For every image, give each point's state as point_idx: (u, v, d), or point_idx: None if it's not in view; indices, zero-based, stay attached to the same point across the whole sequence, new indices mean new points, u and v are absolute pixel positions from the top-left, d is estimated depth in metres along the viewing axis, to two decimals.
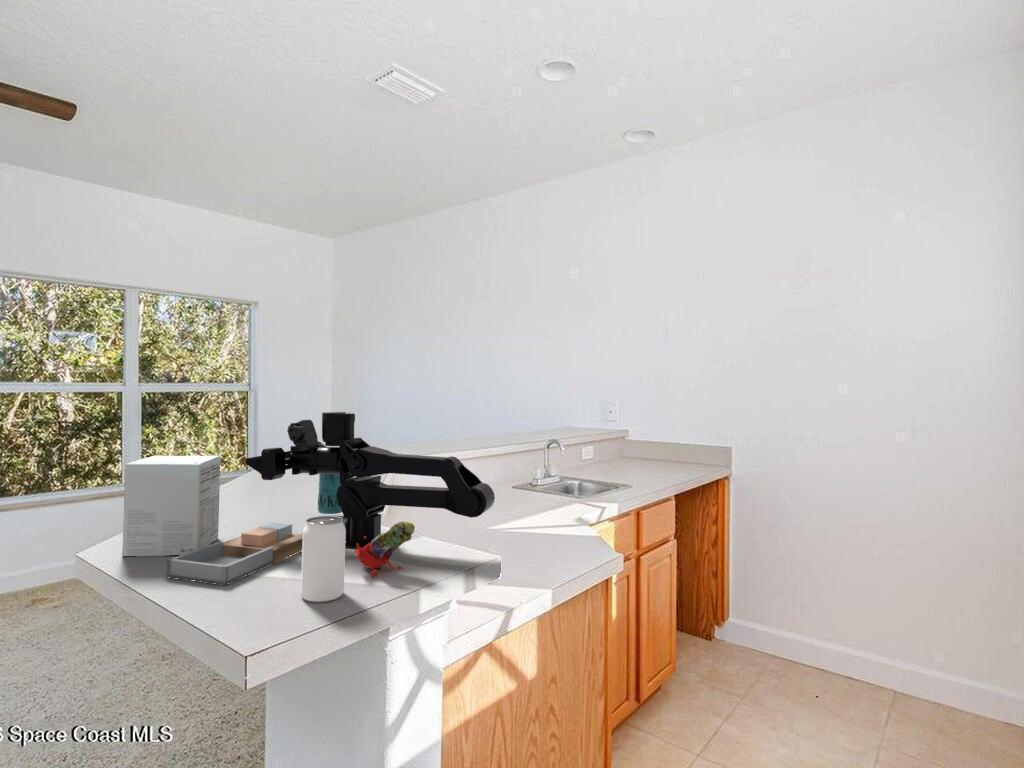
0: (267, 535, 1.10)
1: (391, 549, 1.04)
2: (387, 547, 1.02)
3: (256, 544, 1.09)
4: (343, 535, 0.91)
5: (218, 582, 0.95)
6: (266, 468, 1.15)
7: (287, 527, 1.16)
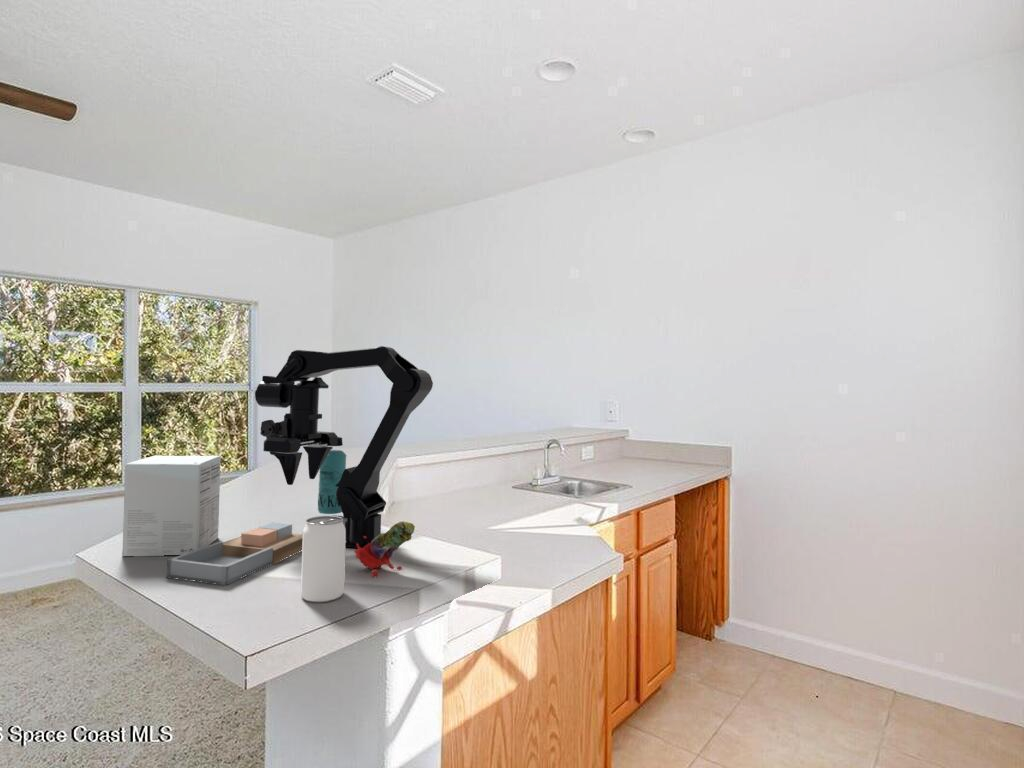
0: (267, 535, 1.10)
1: (391, 549, 1.04)
2: (387, 547, 1.02)
3: (256, 544, 1.09)
4: (343, 535, 0.91)
5: (218, 582, 0.95)
6: (278, 446, 1.15)
7: (287, 527, 1.16)
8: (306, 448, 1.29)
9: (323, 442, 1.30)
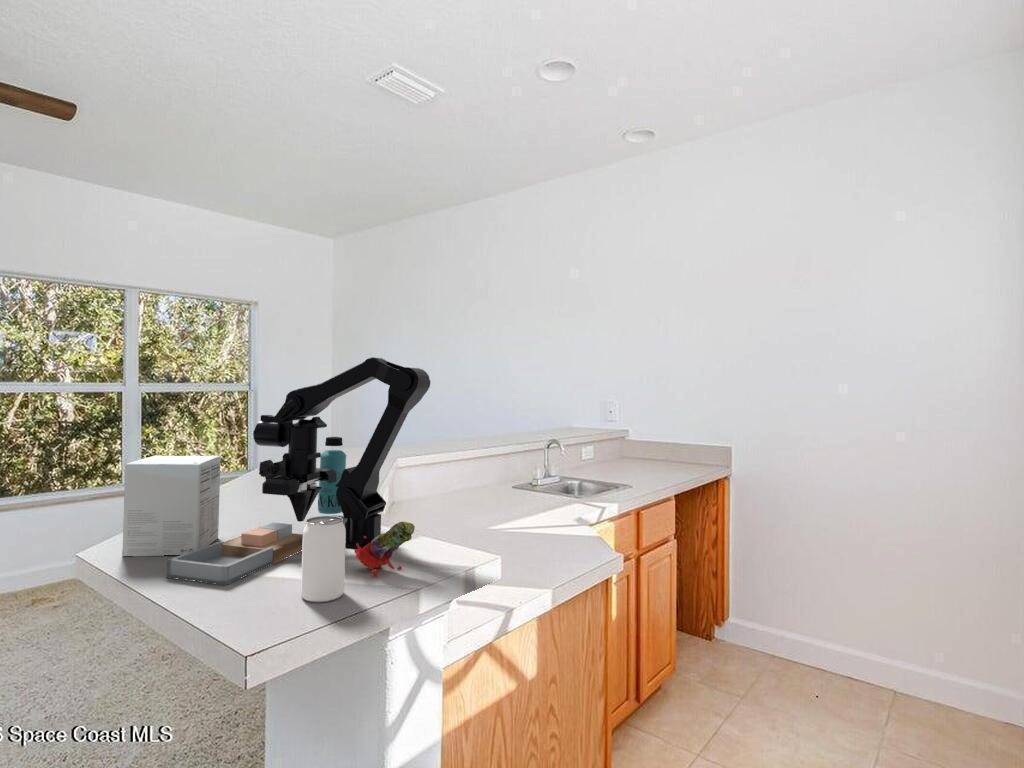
0: (267, 535, 1.10)
1: (391, 549, 1.04)
2: (387, 547, 1.02)
3: (256, 544, 1.09)
4: (343, 535, 0.91)
5: (218, 582, 0.95)
6: (276, 488, 1.15)
7: (287, 527, 1.16)
8: None
9: (322, 479, 1.30)
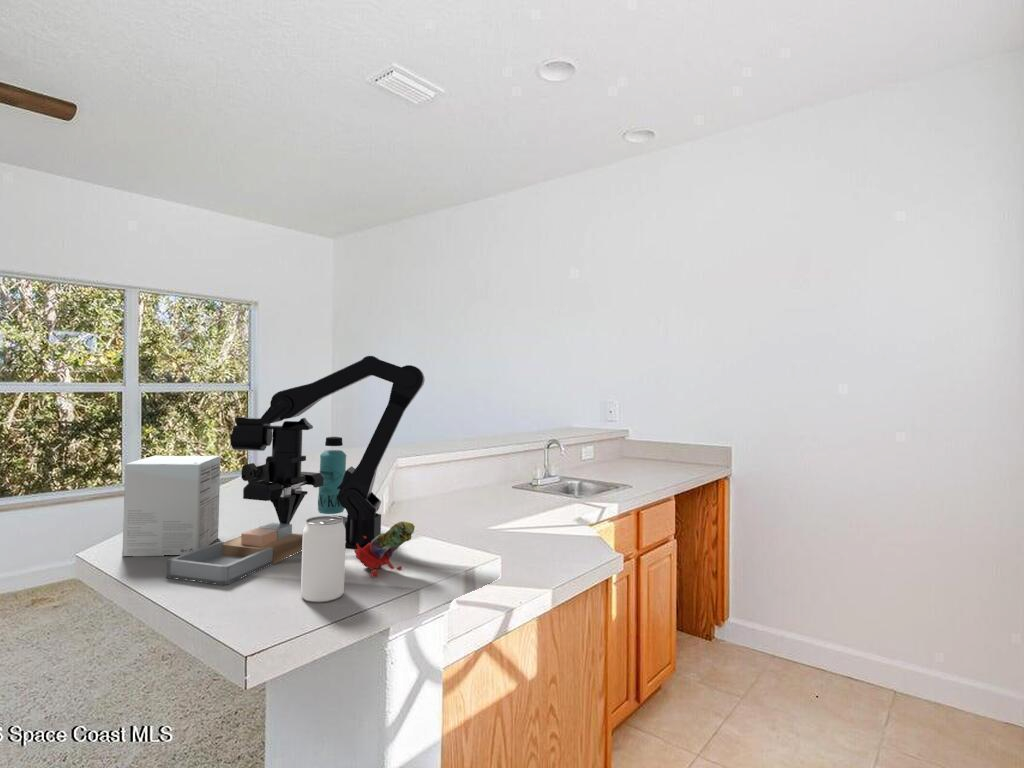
0: (267, 535, 1.10)
1: (391, 549, 1.04)
2: (387, 547, 1.02)
3: (256, 544, 1.09)
4: (343, 535, 0.91)
5: (218, 582, 0.95)
6: (258, 493, 1.10)
7: (287, 527, 1.16)
8: None
9: (308, 484, 1.25)
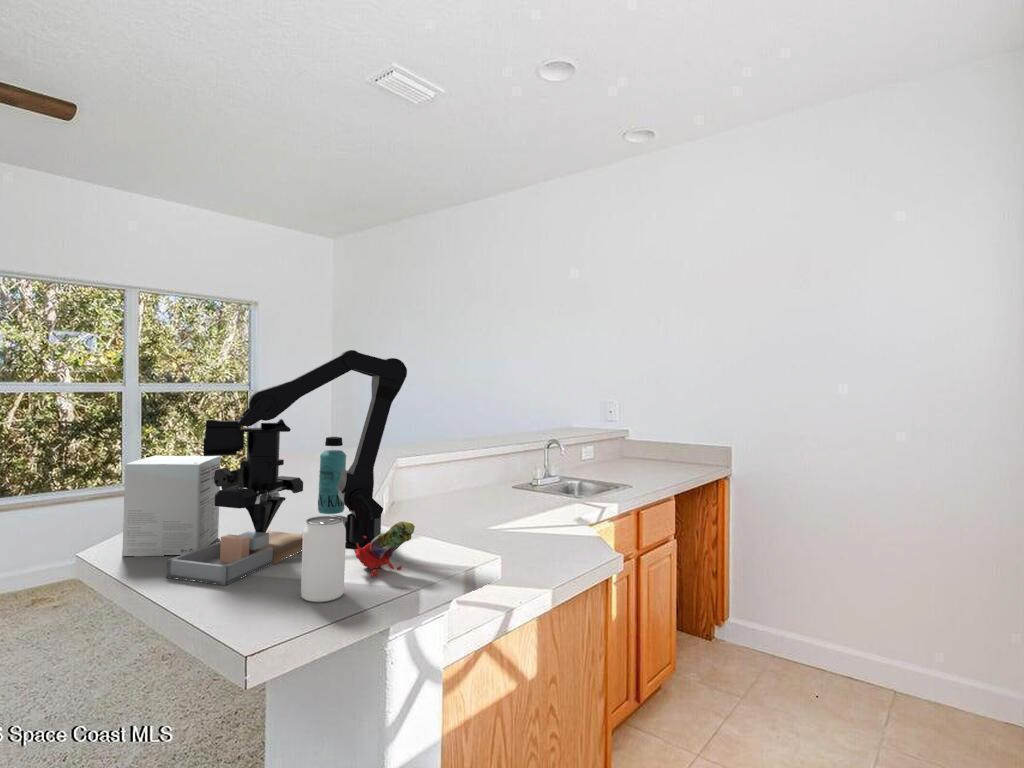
0: (242, 554, 1.04)
1: (391, 549, 1.04)
2: (387, 547, 1.02)
3: None
4: (343, 535, 0.91)
5: (218, 582, 0.95)
6: (230, 500, 1.02)
7: (264, 536, 1.09)
8: None
9: None
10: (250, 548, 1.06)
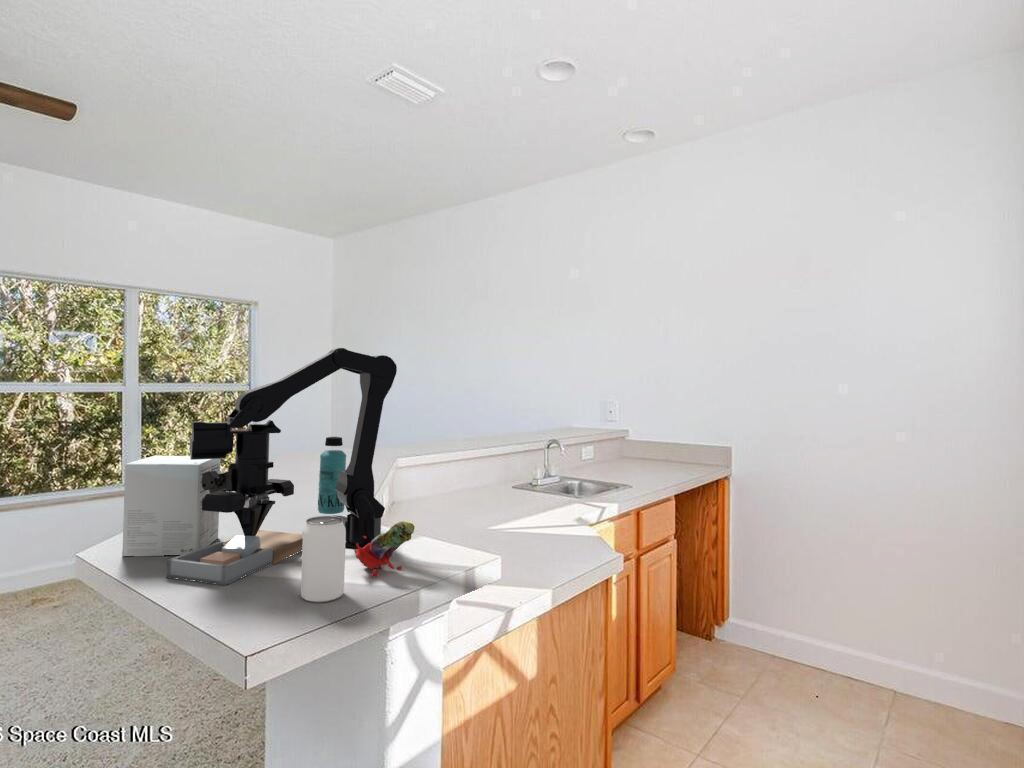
0: None
1: (391, 549, 1.04)
2: (387, 547, 1.02)
3: None
4: (343, 535, 0.91)
5: (218, 582, 0.95)
6: (217, 504, 0.99)
7: (254, 542, 1.06)
8: None
9: (277, 492, 1.14)
10: None
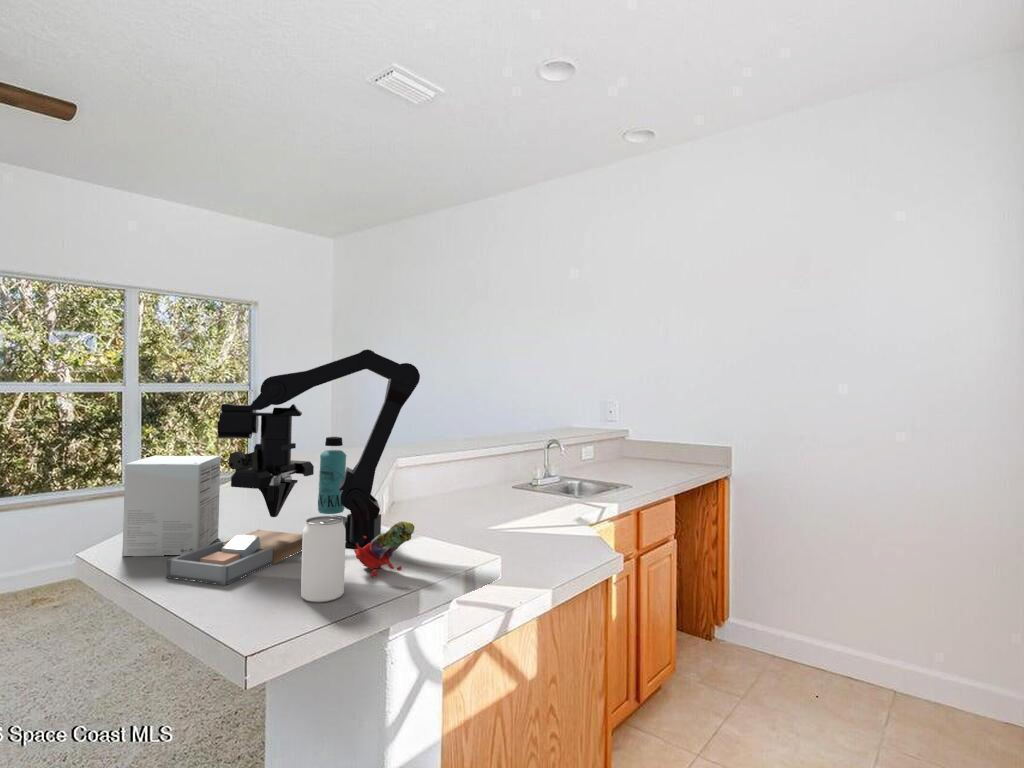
0: None
1: (391, 549, 1.04)
2: (387, 547, 1.02)
3: None
4: (343, 535, 0.91)
5: (218, 582, 0.95)
6: (246, 481, 1.06)
7: (254, 542, 1.06)
8: None
9: (298, 472, 1.21)
10: None
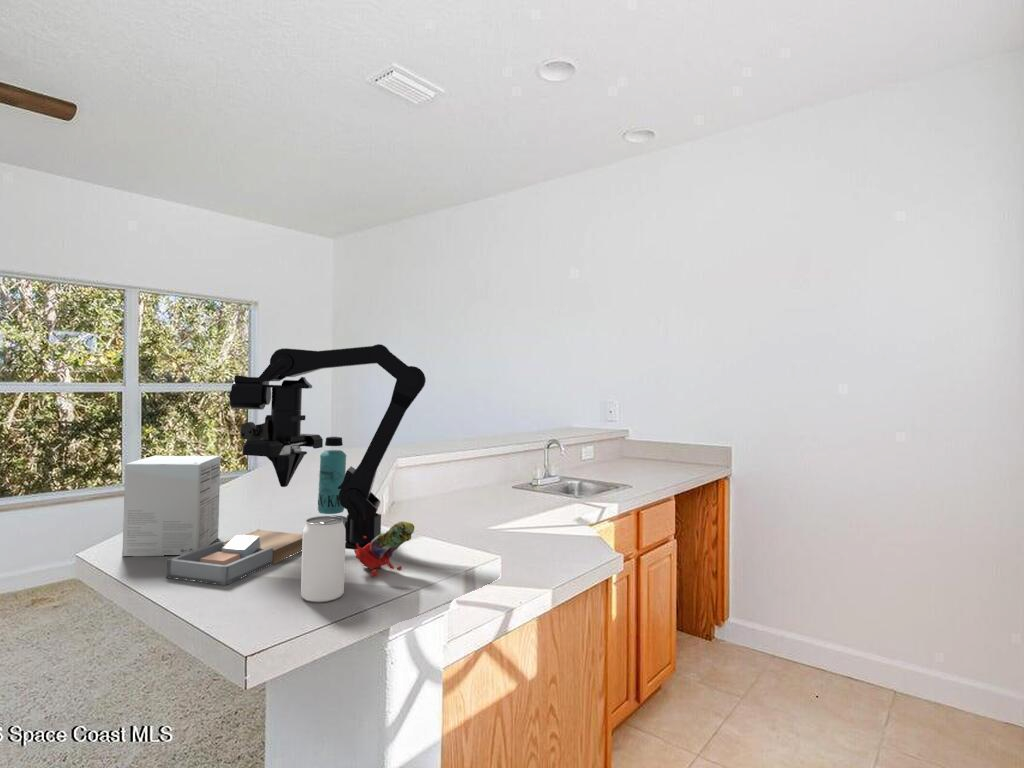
0: None
1: (391, 549, 1.04)
2: (387, 547, 1.02)
3: None
4: (343, 535, 0.91)
5: (218, 582, 0.95)
6: (257, 449, 1.09)
7: (254, 542, 1.06)
8: None
9: (307, 445, 1.24)
10: None
